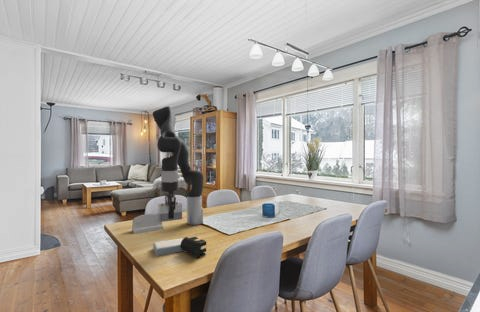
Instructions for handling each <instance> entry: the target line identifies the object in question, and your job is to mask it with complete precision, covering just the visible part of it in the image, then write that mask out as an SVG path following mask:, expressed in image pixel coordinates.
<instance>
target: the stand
mask: <svg viewBox="0 0 480 312" xmlns="http://www.w3.org/2000/svg"><path fill="white" fill-rule="evenodd" d="M183 239H184V237H183V238H182V237H181V238H175V239H169V240H162V241H157V242H156V241H155V242H153V243H152V244H153V245H152V249H153V252H154V254H155V256H156V257H157V256H163V255H164V256H165V255H170V254H175V253H179V252H180V253H181V252H184V251H183V250H182V249H181V241H182V240H183Z"/></svg>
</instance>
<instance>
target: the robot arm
mask: <svg viewBox="0 0 480 312" xmlns="http://www.w3.org/2000/svg"><path fill="white" fill-rule="evenodd" d="M152 118H153V119H154V122H155V123H156V125H157V127H158V128H159V130H160V131H159V134H160V136H159V138H158V141H157V145H156V146H157V149H158V151H159V152H161V153H171V154H172V155H171V156H168V157H167V156H166V157H163V158H162V159H161V174H160V175H161V176H160V177H161V178H160V179H161V181H160V182H161V183H160V185H161V186H160V188H161V189H160V190H161V192H164V194H163V195H164V204H167V205H168V210H169V219H173V218H174V210H175V204H176V202H177V198H176V195H175V193H174V192H177V191H179V173H178V168H179V171H180V173H181V176H182V178H183V180H184V183H186V184H187V185H190V186H191V189H190V190H188V191H186V225H190V226H198V225H201V224H203V223H204V208H203V206H202V205H203V196H202V195H203V194H202V193H203V191H204V174H203V173H202V172H201V170H193V169H192V167H191V165H190V164H189V157H190V156H189V155H190V154H189V149H188V147H187V145H186V142H185V141H184V140H183V138H181V137H179V136H178V135H176V130H175V126H176V119H177V118H176V115H175V112H174V110H173V108H172V107H171V106H169V105H168V106H164V107H162V108H159V109H156V110H154V111H153V112H152ZM171 205H173V207H171Z"/></svg>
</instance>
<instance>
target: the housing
mask: <svg viewBox="0 0 480 312" xmlns="http://www.w3.org/2000/svg"><path fill="white" fill-rule="evenodd" d="M171 207H173V205H171ZM157 215H158V220H159V222H162V223H163V222H171V221H179V220H183V203H181V202H180V201H176V204H175V210H174V218H173V219H169V210H168V205H167V204H165V203H158V204H157Z"/></svg>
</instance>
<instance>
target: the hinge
mask: <svg viewBox="0 0 480 312" xmlns="http://www.w3.org/2000/svg"><path fill="white" fill-rule="evenodd" d="M163 229H164V225H163V222H159V220H158V213H157V214H156V213H145V214H142V215H138V216H136V217H134V218H133V219H132V227H131V232H132V233H133V234H141V233H148V232H152V231H153V232H154V231H159V230H163Z"/></svg>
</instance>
